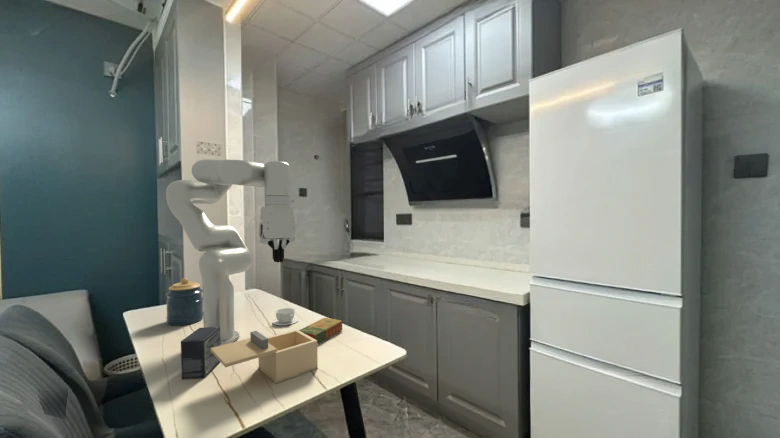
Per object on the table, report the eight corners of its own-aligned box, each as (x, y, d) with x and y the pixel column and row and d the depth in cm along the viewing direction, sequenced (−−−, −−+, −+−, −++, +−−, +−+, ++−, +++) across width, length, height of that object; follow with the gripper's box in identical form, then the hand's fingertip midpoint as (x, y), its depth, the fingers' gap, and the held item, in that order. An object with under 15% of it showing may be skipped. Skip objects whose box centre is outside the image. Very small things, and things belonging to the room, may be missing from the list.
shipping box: (258, 367, 94) (258, 339, 94) (297, 355, 102) (297, 329, 102) (276, 383, 85) (276, 353, 85) (317, 368, 93) (317, 340, 93)
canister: (158, 324, 131) (157, 280, 131) (187, 314, 143) (186, 274, 143) (183, 327, 127) (183, 282, 127) (211, 317, 140) (210, 275, 139)
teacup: (267, 322, 133) (267, 311, 133) (289, 316, 141) (289, 305, 140) (280, 328, 126) (280, 316, 126) (303, 321, 134) (303, 310, 134)
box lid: (210, 351, 86) (210, 338, 86) (258, 338, 94) (258, 327, 94) (225, 367, 77) (225, 353, 76) (277, 351, 85) (276, 339, 85)
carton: (342, 331, 124) (342, 319, 124) (315, 347, 109) (315, 334, 109) (324, 327, 127) (324, 316, 127) (295, 342, 113) (295, 330, 113)
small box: (199, 361, 98) (198, 326, 98) (222, 360, 99) (221, 326, 98) (179, 379, 88) (179, 340, 87) (205, 378, 88) (204, 339, 88)
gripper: (294, 202, 109) (295, 258, 110) (248, 202, 99) (249, 263, 99) (305, 202, 104) (306, 260, 104) (257, 201, 94) (258, 265, 94)
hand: (278, 261), depth 102 cm, fingers closed
